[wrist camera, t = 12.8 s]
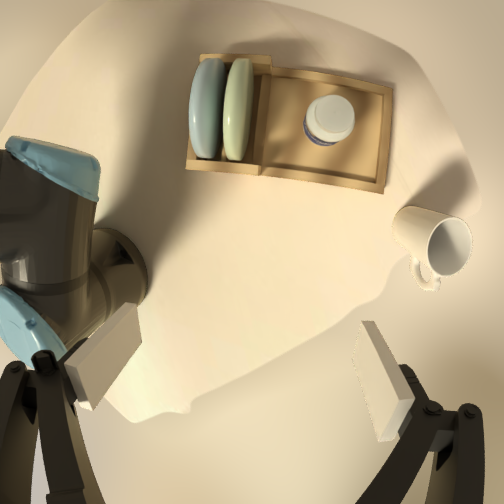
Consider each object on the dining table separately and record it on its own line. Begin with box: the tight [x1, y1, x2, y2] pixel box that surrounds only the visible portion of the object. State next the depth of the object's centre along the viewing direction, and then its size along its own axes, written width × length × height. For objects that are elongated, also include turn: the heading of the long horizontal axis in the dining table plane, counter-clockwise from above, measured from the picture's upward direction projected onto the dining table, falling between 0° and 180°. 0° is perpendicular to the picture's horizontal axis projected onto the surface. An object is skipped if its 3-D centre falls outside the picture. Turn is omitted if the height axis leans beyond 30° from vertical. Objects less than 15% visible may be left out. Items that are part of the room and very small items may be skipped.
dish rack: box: [186, 54, 393, 194], centre depth 33 cm, size 25×15×6 cm, turn 84°
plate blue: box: [189, 58, 227, 158], centre depth 30 cm, size 1×12×12 cm, turn 173°
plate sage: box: [223, 58, 254, 161], centre depth 30 cm, size 1×12×12 cm, turn 174°
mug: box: [392, 206, 473, 291], centre depth 33 cm, size 10×7×12 cm, turn 177°
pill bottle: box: [303, 95, 355, 147], centre depth 30 cm, size 5×5×10 cm
